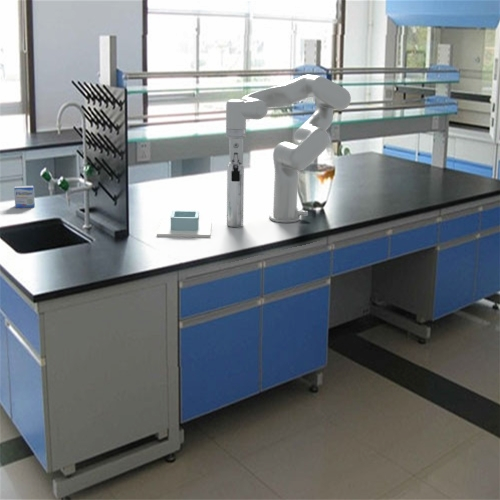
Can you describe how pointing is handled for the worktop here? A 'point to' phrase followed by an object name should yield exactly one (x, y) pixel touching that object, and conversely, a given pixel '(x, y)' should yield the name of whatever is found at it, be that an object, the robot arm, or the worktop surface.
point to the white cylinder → (235, 197)
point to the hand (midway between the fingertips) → (235, 178)
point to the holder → (184, 225)
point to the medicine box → (24, 196)
